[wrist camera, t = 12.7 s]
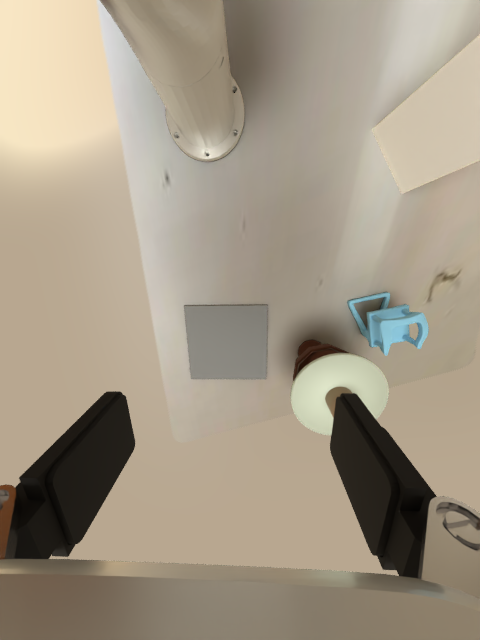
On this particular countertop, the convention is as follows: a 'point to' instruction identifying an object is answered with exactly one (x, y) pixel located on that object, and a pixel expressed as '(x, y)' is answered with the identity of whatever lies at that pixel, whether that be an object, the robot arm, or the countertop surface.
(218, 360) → the mat
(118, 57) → the countertop surface
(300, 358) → the ice cream bowl
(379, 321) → the chair
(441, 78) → the milk
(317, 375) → the lid
